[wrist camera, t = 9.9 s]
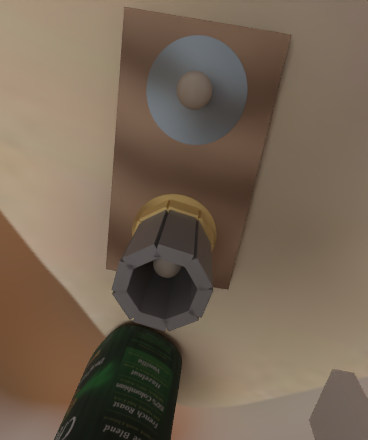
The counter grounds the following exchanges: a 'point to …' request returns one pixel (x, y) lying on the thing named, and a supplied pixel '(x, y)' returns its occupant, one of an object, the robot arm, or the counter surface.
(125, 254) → the sleeve ochre
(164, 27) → the pin board
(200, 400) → the counter surface
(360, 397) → the robot arm
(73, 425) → the coffee jar
